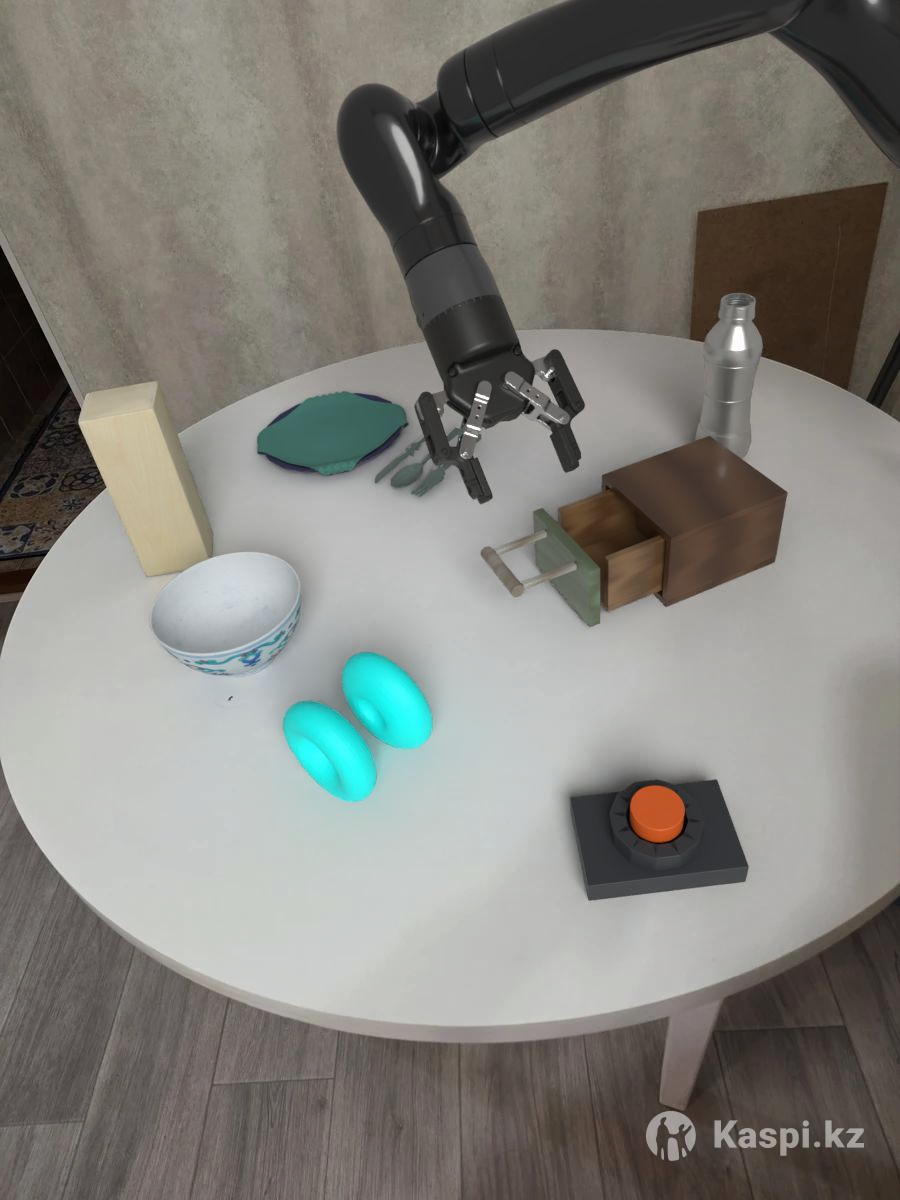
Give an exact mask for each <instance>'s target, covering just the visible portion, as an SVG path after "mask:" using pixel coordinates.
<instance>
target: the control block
mask: <svg viewBox="0 0 900 1200" xmlns="http://www.w3.org/2000/svg"><path fill="white" fill-rule="evenodd" d="M653 785H656V786H663V787H666V788H669V789H671V790H672V791H674V792H675V793H676V794H677V795H678V796H679V797H680V798H681V800H682V801H683V804H684V808H685V813H684V822H683V828H682V830H681V832H680V834H679V835H678V836H677V837H675V838H674V839H672V840H670V841H668V842H663V843H655V842H650V841H647V840H645V839H643V838H642V837H640V836H639V835H638V834H637V833H636V832H635V831H634V830H633V828H632V826H631V823H630V803H631V799H632V797H633V796H634V794H635V793H636V792H637V791H639V790H640V789H642V788H644V787H647V786H653ZM569 801H570V802H569V803H570V804H569V805H570V816H571V821H572V826H573V831H574V835H575V841H576V845H577V850H578V855H579V860H580V866H581V871H582V875H583V880H584V883H585V884H584V885H585V890H586V895H587V899H588V901H590V902H591V901H598V900H609V899H617V898H623V897H632V896H641V895H648V894H649V895H650V894H656V893H657V894H658V893H665V892H674V891H680V890H681V891H682V890H689V889H697V888H698V889H699V888H705V887H713V886H722V885H731V884H740V883H745V882H746V881H747V878H748V873H749V869H750V866H749V863H748V861H747V858H746V855H745V852H744V850H743V847H742V844H741V841H740V839H739V836H738V832H737V830H736V828H735V824H734V822H733V820H732V817H731V814H730V811H729V808H728V805H727V803H726V800H725V797H724V795H723V791H722V789H721V786H720V784H719V781H718V779H716V778H715V779H707V780H701V781H692V782H684V783H677V784H676V783H675V784H674V783H671V782H668V781H664V780H661V779H648V780H640V781H634V782H632V783H630V785H628V786H626V787H625V788H624V789H622V790H620V791H612V792H604V793H597V794H596V793H595V794H588V795H580V796H573V797H572V796H571V797H570V799H569Z"/></svg>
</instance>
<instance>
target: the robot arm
mask: <svg viewBox="0 0 900 1200" xmlns="http://www.w3.org/2000/svg"><path fill="white" fill-rule="evenodd" d="M764 34H768V35H770V36H771V37H772V38H774V39H775V40H777V41H778V42H780V43H781V44H782V45H784V46H785V47H786V48H788V49H789V50H790V51H792V52H793V53H794V54H795V55H797V56H798V57H799V58H801V59H803V60H804V62H806V63H807V64H808V65H809V66H811V68H813V70H815V71H816V72H817V73H818V74H819V75H820V76H821V77H822V78H823V79H824V80H825V82H826V83H827V84H828V85H829V87H830V88H832V90H833V91H834V93H835V94H836V96H837V97H838V98H839V99H840V101H841V102H842V104H843V106H844V107H845V108H846V110H848V112H849V113H850V115H851V116H852V117H853V119H854V120H855V122H856V123H857V124H858V125H859V127H860V128H861V129H862V131H863V132H864V133H865V135H867V137H868V138H869V139H870V141H871V142H872V143H873V144H874V145H875V147H876V148H877V150H879V151H880V153H882V155H883V156H884V157H885V158H886V159H887V160H888V162H890V164H892V166H894V167H895V169H896V170H897V171H899V172H900V0H564V1H561V2H559V3H555V4H553V5H551V6H548V7H546V8H543V9H541V10H539V11H535V12H533V13H530V14H528V15H527V16H525V17H523V18H520V19H518V20H516V21H514V22H511V23H510V24H507V25H506V26H504V27H502V28H500V29H498V30H497V31H494V32H493V33H491V34H489V35H487V36H485V37H484V38H481V39H480V40H478V41H476V42H474V43H472V44H470V45H468V46H467V47H465V48H463V49H461V50H460V51H458V52H456V53H454V54H453V55H451V56H449V58H446V60H445V61H444V62H443V63H442V65H441V66H440V67H439V70H438V72H437V76H436V81H435V82H436V90H435V91H434V92H433V93H432V94H430V95H429V96H427V97H425V98H424V99H422V100H419V101H416V102H415V101H413V100H412V99H410V98H408V97H407V96H406V95H404V94H403V93H401V92H400V91H398V90H397V89H395V88H393V87H391V86H389V85H386V84H382V83H378V82H369V83H364V84H361V85H358V86H357V87H355V88H353V89H352V90H350V92H349V93H348V94H347V95H346V96H345V97H344V99H343V101H342V103H341V105H340V106H339V109H338V113H337V117H336V125H335V126H336V127H335V128H336V129H335V133H336V141H337V142H336V143H337V146H338V151H339V154H340V158H341V160H342V162H343V165H344V167H345V169H346V171H347V174H348V175H349V177H350V178H351V180H352V182H353V184H354V185H355V187H356V190H357V191H358V192H359V194H360V195H361V197H362V199H363V201H364V202H365V204H366V205H367V207H368V209H369V210H370V212H371V214H372V216H373V217H374V218H375V219H376V221H377V222H378V223H379V225H380V227H381V228H382V230H383V232H384V233H385V234H386V236H387V237H386V238H387V239H388V241H389V244H390V247H391V250H392V253H393V256H394V258H395V261H396V263H397V265H398V268H399V270H400V273H401V275H402V279H403V280H404V283H405V285H406V289H407V293H408V297H409V301H410V304H411V307H412V310H413V313H414V315H415V320H416V323H417V326H418V328H419V329H420V331H421V333H422V335H423V337H424V340H425V342H426V345H427V348H428V350H429V353H430V356H431V357H432V360H433V363H434V365H435V367H436V370H437V373H438V375H439V377H440V379H441V381H442V383H443V390H442V391H437V392H435V393H431V392H430V391H423V392H421V393H420V394H419V396H418V398H417V400H416V401H415V403H414V407H413V408H414V412H415V415H416V417H417V420H418V423H419V426H420V429H421V432H422V436H423V437H424V438H425V441H424V442H425V444H426V447H427V450H428V454H429V453H430V456H431V458H430V459H431V462H432V464H433V465H434V466H437V467H438V466H442V465H443V464H451V465H452V466H455V468H457V469H458V471H459V474H460V477H461V479H462V481H463V484H464V485H465V489H466V491H467V494H468V496H469V497H470V498H471V499H472V500H473V501H475V500H477V502H478V503H479V504H480V505H483V504H486V503H488V502H490V501H491V500H493V497H494V496H493V492H492V489H491V487H490V485H489V483H488V480H487V477H486V474H485V472H484V470H483V467H482V465H481V462H480V460H479V457H478V456H477V457H475V456H474V452H475V448H476V446H477V445H476V444H477V443H476V441H477V438H478V435H479V434H481V430H482V429H485V430H488V429H491V428H493V427H495V426H497V425H498V424H499V423H501V422H511V421H514V420H516V419H518V418H519V417H520V416H523V417H524V418H526V419H528V420H529V421H532V422H537V423H538V424H539V425H541V426H542V427H544V428H546V429H547V430H549V431H550V432H551V434H550V435H549V438H550V442H551V443H552V445H553V448H554V452H555V454H556V455H557V458H558V461H559V463H560V466H561V468H562V471H564V473H565V474H567V473H570V472H572V471H575V470H576V469H578V468H579V467H580V460H581V459H582V451H581V449H580V447H579V444H578V442H577V439H576V436H575V433H574V431H573V429H572V427H571V424H572V421H573V419H574V418H575V417H577V416H578V415H579V414H580V413H581V412H582V411H584V409H585V408H586V403H585V401H584V399H583V397H582V394H581V392H580V391H579V388H578V386H577V384H576V382H575V379H574V378H573V376H572V373H571V371H570V369H569V367H568V365H567V362H566V360H565V359H564V356H563V354H562V352H561V351H560V350H559V349H557V348H553V349H551V350H550V351H549V352H548V353H547V354H546V355H544V356H542V357H539V358H537V359H534V360H532V361H531V360H529V359H528V358H527V356H526V355H525V354H524V352H523V350H522V346H521V343H520V339H519V337H518V334H517V332H516V330H515V327H514V325H513V322H512V319H511V317H510V314H509V312H508V309H507V307H506V305H505V302H504V300H503V296H502V295H501V292H500V290H499V288H498V285H497V283H496V280H495V277H494V274H493V273H492V271H491V268H490V267H489V265H488V263H487V261H486V259H485V258H484V256H483V254H482V253H481V252H482V251H481V250H480V248H479V246H478V243H477V241H476V239H475V236H474V233H473V231H472V228H471V225H470V223H469V222H468V218H467V216H466V214H465V212H464V209H463V207H462V205H461V204H460V202H459V200H458V199H457V198H456V196H455V194H453V193H452V192H451V190H449V188H447V187H446V186H445V185H444V184H443V183H442V182H441V179H442V178H443V177H445V176H446V175H448V174H449V173H450V172H451V171H452V172H453V170H454V169H456V168H457V167H458V166H459V165H461V164H463V162H465V161H466V160H467V159H469V158H470V157H471V156H472V155H473V154H474V153H475V152H477V151H478V150H479V148H481V147H482V146H483V145H485V144H487V143H490V142H492V141H494V140H496V139H499V138H502V137H503V136H505V135H508V134H510V133H511V132H514V131H516V130H518V129H520V128H523V127H525V126H526V125H529V124H531V123H533V122H535V121H537V120H539V119H541V118H543V117H546V116H547V115H549V114H551V113H553V112H555V111H558V110H560V109H561V108H564V107H566V106H568V105H570V104H572V103H573V102H575V101H578V100H580V99H581V98H583V97H586V96H588V95H590V94H592V93H594V92H596V91H598V90H600V89H602V88H603V89H604V88H605V87H606V86H607V87H608V86H609V85H611V84H614V83H616V82H618V81H620V80H623V79H625V78H627V77H629V76H632V75H635V74H638V73H640V72H642V71H645V70H647V69H651V68H653V67H657V66H659V65H661V64H664V63H668V62H670V61H673V60H677V59H679V58H681V57H685V56H688V55H692V54H696V53H699V52H703V51H705V50H710V49H713V48H717V47H720V46H723V45H728V44H731V43H734V42H738V41H742V40H746V39H749V38H753V37H757V36H760V35H764ZM535 376H538V377H539V378H540V380H541V381H542V382H545V383H546V384H547V385H548V387H549V389H550V391H551V393H552V395H553V397H554V399H555V402H556V404H555V403H554V402H553V401H552V400H551V398H550V397H549V396H548V395H546V394H545V393H544V392H543V391H541V390H539V389H538V388H537V387H535V386H533V385H534V380H535ZM445 405H446V406H447V407H448V408H449V409H452V410H453V411H454V412H456V413H457V414H459V415H460V416H462V419H461V423H460V426H459V429H460V430H459V434H458V435H457V441H456V445H455V446H451V445H450V441H449V442H448V439H447V433H446V430H445V428H444V424H443V422H442V417H443V416H444V413H445V407H444V406H445Z"/></svg>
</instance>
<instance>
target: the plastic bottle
mask: <svg viewBox="0 0 900 1200" xmlns="http://www.w3.org/2000/svg"><path fill="white" fill-rule="evenodd" d="M756 300H757V299H756V297H755V296H752V295H751V294H748V293H744V292H734V293H733V292H732V293H729V294H726V295H724V296H722V297H721V299H720V303H719V304H720V305H719V310H718V312H717V313H718V314H717V317H718V319H719V321H717V322H716V323H715V324H714V325H713V326H712V328H711V329H710V330H709V332H707V334H706V336H705V338H704V341H703V344H702V347H703V351H702V353H703V367H704V392H703V393H704V396H703V403H702V408H701V413H700V419H699V422H698V424H697V427H696V431H695V432H696V433H695V439H694V440H695V441H696V440H699V439H702V438H704V437H707V436H711V437H712V438H714V439H715V440H716V441H718V442H719V443H720V444H722V445H723V446H725V447H726V448H727V449H729V450H730V451H731V452H733V453H734V454H736V455H737V456H738V457H740V458H741V459H743V460H744V458H745V457H746V456H747V454H748V453H749V450H750V447H751V444H752V424H751V410H752V409H751V405H752V396H753V390H754V384H755V379H756V374H757V371H758V368H759V365H760V362H761V357H762V354H763V349H764V345H763V337H762V336H761V334H760V332H759V330H758V328H757V326H756V325H755V323H754V322H753V320H754V319H755V317H756V303H757V302H756Z"/></svg>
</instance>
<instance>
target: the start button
mask: <svg viewBox="0 0 900 1200" xmlns="http://www.w3.org/2000/svg"><path fill="white" fill-rule="evenodd" d="M684 813H685V808H684V804H683V801H682V800H681V798H680V797H679V796H678V795H677V794H676V793H675V792H674V791H672V790H671V789H669V788H666V787H663V786H656V785H653V786H647V787H644V788H642V789H640V790H639V791H637V792H636V793H635V794H634V796H633V797H632V799H631V803H630V823H631V826H632V828H633V830H634V831H635V832H636V833H637V834H638V835H639V836H640V837H642V838H643V839H645V840H647V841H650V842H655V843H663V842H668V841H670V840H672V839H674V838H675V837H677V836H678V835H679V834H680V832H681V830H682V828H683V822H684Z"/></svg>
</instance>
